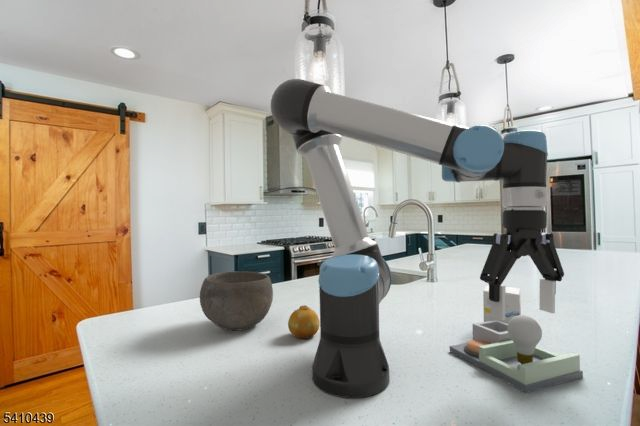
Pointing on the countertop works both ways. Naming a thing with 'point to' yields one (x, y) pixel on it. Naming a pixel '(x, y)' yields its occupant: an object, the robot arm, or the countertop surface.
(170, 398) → the countertop surface
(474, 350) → the checker pad
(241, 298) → the bowl
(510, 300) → the ink box
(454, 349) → the compartment tray
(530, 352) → the light bulb
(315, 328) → the fruit
